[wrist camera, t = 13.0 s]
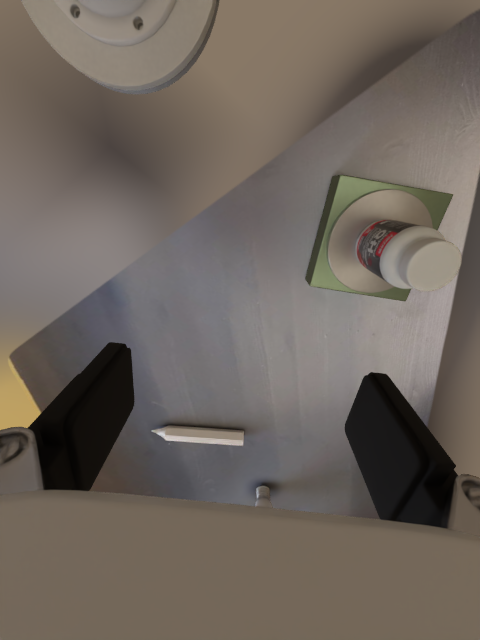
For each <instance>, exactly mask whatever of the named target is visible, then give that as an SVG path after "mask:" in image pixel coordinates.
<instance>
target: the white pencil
mask: <svg viewBox="0 0 480 640" xmlns="http://www.w3.org/2000/svg"><path fill="white" fill-rule="evenodd" d="M152 432H155V433H157V434H159V435H160V436H162V437H163V438H165V440H168V441H183V442H197V443H211V444H225V445H240V446H243V438H244V431H243V430H229V429H215V428H200V427H186V426H172V425H168V426H167V427H164V428H161V429H156V430H152Z"/></svg>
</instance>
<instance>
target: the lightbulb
mask: <svg viewBox="0 0 480 640" xmlns="http://www.w3.org/2000/svg"><path fill="white" fill-rule="evenodd" d="M255 506H256V507H266V508H273V507H272V504H271V502H270V490H269V488H268V487H266V486H259V487H257V489H256V503H255Z"/></svg>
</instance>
